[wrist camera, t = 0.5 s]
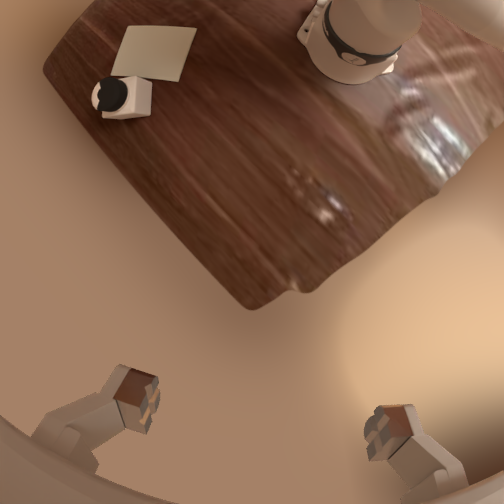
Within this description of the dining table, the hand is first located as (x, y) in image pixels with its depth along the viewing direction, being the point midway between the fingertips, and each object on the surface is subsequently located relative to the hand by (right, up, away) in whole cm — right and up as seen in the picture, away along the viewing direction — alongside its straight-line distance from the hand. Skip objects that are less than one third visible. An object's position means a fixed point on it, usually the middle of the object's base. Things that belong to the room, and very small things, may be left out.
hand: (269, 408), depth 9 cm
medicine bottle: (-23, +35, +38) cm, 57 cm away
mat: (-20, +45, +33) cm, 60 cm away
